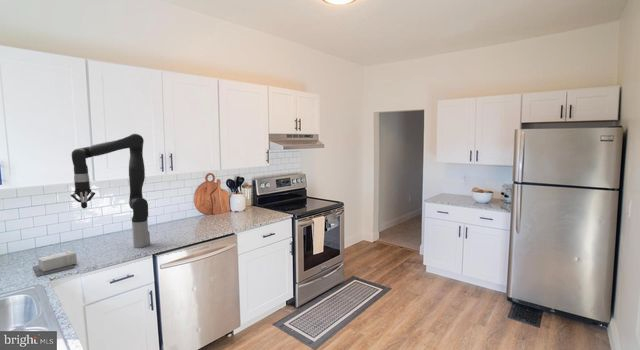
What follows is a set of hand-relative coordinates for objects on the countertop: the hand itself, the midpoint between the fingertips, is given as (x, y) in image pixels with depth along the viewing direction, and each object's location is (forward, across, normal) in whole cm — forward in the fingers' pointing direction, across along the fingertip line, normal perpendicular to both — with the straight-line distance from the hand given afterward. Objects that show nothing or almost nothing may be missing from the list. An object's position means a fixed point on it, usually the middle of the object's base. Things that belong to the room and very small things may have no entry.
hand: (84, 208), depth 203 cm
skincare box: (+25, +9, +14) cm, 30 cm away
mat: (+29, +19, +14) cm, 37 cm away
